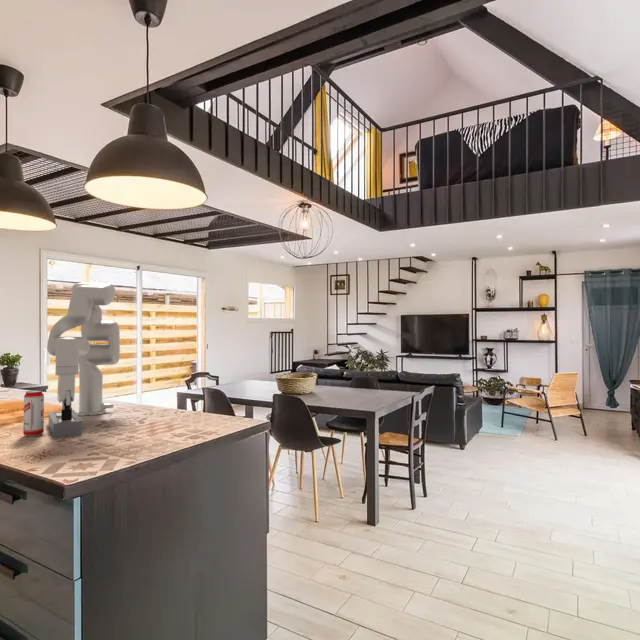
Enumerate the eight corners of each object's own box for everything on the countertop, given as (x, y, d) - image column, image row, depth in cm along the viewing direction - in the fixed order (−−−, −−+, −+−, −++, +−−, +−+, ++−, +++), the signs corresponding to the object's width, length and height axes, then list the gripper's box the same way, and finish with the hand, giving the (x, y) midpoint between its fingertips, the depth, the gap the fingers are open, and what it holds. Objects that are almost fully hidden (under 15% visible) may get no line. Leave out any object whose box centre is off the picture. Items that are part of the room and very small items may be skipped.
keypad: (73, 421, 187) (73, 409, 187) (81, 434, 165) (82, 420, 165) (48, 424, 182) (48, 412, 182) (53, 437, 160) (53, 423, 160)
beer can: (41, 432, 169) (41, 389, 169) (45, 435, 164) (46, 391, 165) (21, 435, 164) (22, 391, 165) (25, 438, 160) (26, 392, 160)
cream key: (73, 425, 171) (73, 418, 171) (74, 427, 166) (74, 420, 167) (58, 426, 168) (58, 419, 168) (59, 429, 164) (59, 422, 164)
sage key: (71, 419, 177) (71, 412, 177) (72, 421, 173) (72, 414, 173) (56, 420, 174) (56, 413, 174) (57, 422, 170) (57, 416, 170)
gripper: (53, 369, 172) (53, 418, 171) (57, 373, 159) (56, 425, 159) (76, 368, 176) (75, 416, 175) (81, 371, 163) (80, 422, 163)
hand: (66, 420), depth 167 cm, fingers closed
